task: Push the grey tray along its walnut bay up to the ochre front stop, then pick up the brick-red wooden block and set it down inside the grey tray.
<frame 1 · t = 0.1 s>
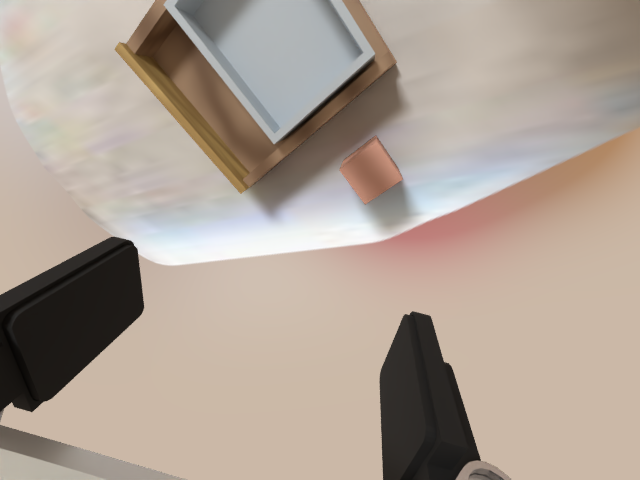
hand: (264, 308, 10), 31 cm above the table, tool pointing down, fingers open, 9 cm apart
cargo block: (370, 164, 37), on the table
bay: (264, 59, 34), on the table
grey tray: (273, 33, 30), point 3 cm above the table, slide at 0.0 cm
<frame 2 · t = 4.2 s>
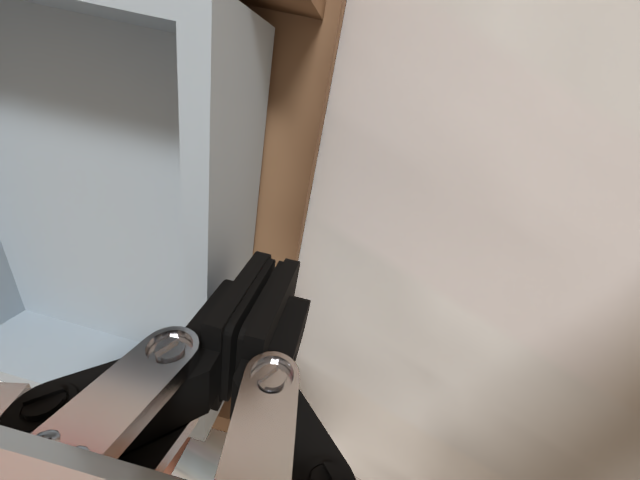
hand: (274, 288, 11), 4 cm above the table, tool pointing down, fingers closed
bay: (86, 189, 15), on the table
grey tray: (75, 228, 12), point 3 cm above the table, slide at 0.3 cm, touching gripper
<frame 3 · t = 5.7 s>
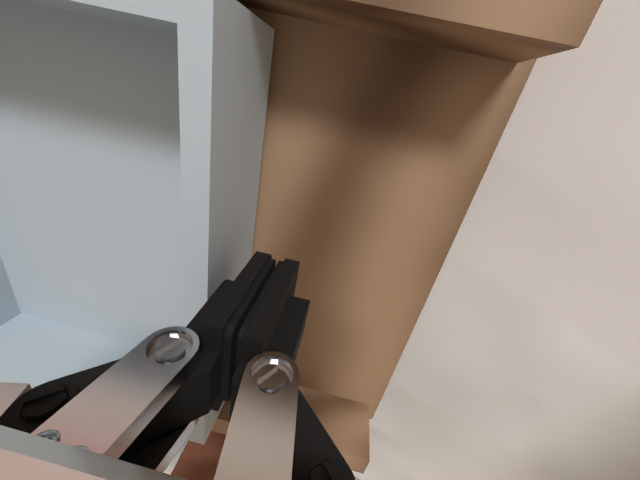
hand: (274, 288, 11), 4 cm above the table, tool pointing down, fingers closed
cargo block: (237, 433, 22), on the table
bay: (202, 220, 15), on the table
grey tray: (72, 230, 12), point 3 cm above the table, slide at 6.7 cm, touching gripper
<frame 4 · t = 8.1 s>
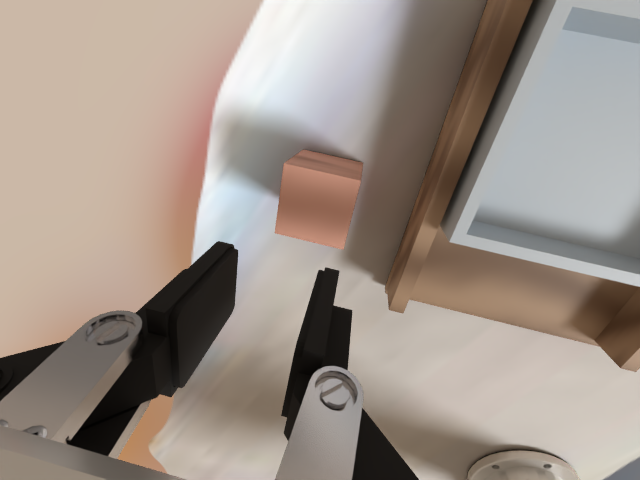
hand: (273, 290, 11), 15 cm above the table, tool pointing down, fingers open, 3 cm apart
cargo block: (327, 185, 25), on the table
bay: (555, 199, 22), on the table
grey tray: (619, 161, 18), point 3 cm above the table, slide at 6.5 cm
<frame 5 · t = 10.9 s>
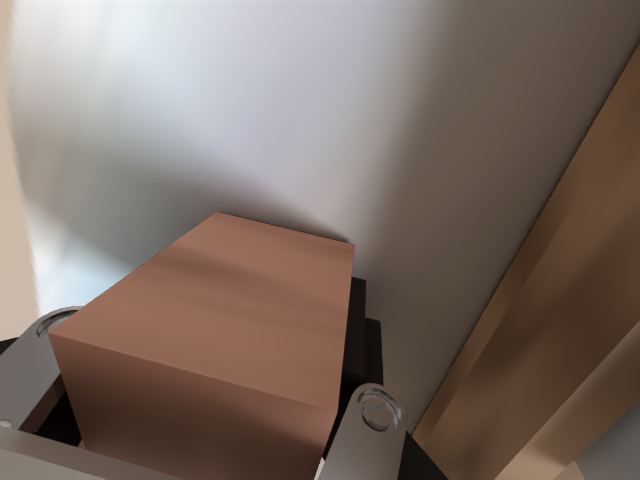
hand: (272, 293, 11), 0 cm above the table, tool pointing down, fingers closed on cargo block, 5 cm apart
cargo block: (276, 285, 11), on the table, touching gripper
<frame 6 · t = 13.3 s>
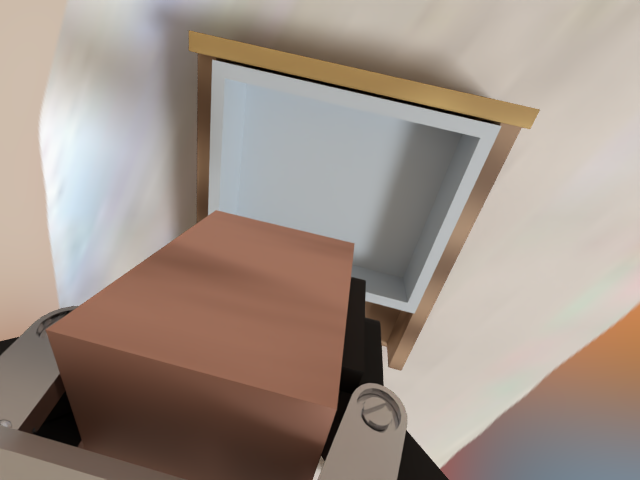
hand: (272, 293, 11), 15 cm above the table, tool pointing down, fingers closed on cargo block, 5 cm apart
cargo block: (275, 284, 11), point 15 cm above the table, touching gripper
bay: (327, 221, 26), on the table
grey tray: (331, 195, 21), point 3 cm above the table, slide at 6.5 cm
when the fingers open (4 cm above the table, at t = 15.9 s): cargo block drops 2 cm, resting on grey tray.
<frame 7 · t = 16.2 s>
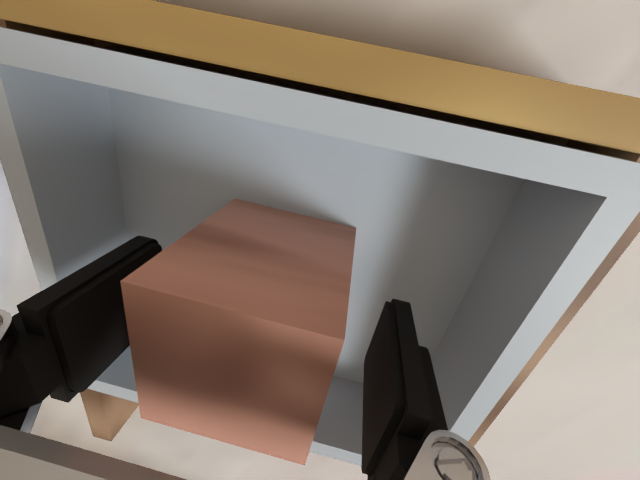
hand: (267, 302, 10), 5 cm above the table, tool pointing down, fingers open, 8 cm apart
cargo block: (286, 265, 13), point 2 cm above the table, touching grey tray
bay: (287, 298, 16), on the table
grey tray: (278, 281, 11), point 3 cm above the table, slide at 6.5 cm, touching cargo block
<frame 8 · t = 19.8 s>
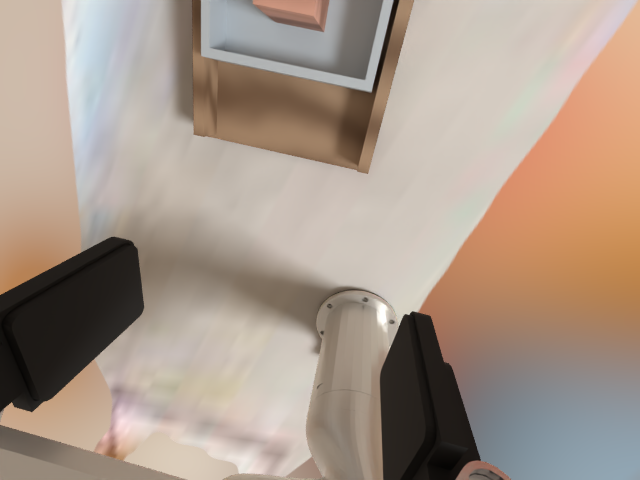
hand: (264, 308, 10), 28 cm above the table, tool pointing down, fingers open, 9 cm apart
bay: (302, 42, 31), on the table
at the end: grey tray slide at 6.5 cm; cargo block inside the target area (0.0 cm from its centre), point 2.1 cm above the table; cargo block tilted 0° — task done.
